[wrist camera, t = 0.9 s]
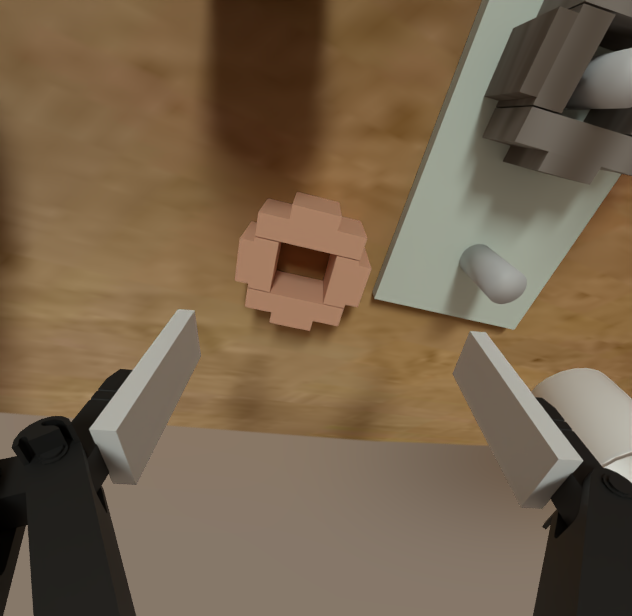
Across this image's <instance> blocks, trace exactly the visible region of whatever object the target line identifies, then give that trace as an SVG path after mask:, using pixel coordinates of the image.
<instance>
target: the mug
mask: <svg viewBox="0 0 632 616" xmlns="http://www.w3.org/2000/svg"><path fill="white" fill-rule="evenodd" d="M531 393H532V394H533V395H534V397H541V398H543V399H545V400H546V401H547V402H548V403H550V404H551V405H552V406H553V407H555V408H556V410H557V411H558V412H559V413H560V415H561V416H562V417H563V418H564V421H565V422H567V423H568V425H569V426H570V427H571V428H572V431H574V432H575V433H576V435H577V436H578V437H579V438H580V439H581V441H582V442H583V443H584V444H585V446H586V447H587V448H588V449H589V451H590V452H591V453H592V454H593V456H594V457H595V458H596V459H597V461H598V462H599V463H600V464H601V466H602V467H603V468H607V469H610V470H612V471H615V472H617V473H619V474H620V475H622V476H623V477H625V478H626V479H628V480H629V481H630V482H631V483H632V399H631V398H630V397H629V396H628V395H627V394H626V393H625V392H624V391H623V390H622V389H620V388H619V387H618V386H617V385H616V384H615V383H614V382H613V381H612V380H611V379H610V378H608V377H607V376H606V375H605V374H603V373H602V372H600V371H598V370H594V369H589V368H576V369H570V370H566V371H562V372H559V373H557V374H555V375H552V376H550V377H548V378H546V379H545V380H544V381H542V382H541V383H539V384H538V385H537V386H536V387H535V388H534V389H533V390H532V392H531Z"/></svg>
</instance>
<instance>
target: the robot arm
mask: <svg viewBox="0 0 632 616" xmlns="http://www.w3.org/2000/svg"><path fill="white" fill-rule="evenodd" d="M200 357H201V353H200V346H199V339H198V331H197V324H196V317H195V310H182V309H178V310H177V311H176V313H175V314H174V315H173V317H172V318H171V319H170V321H169V322H168V323H167V325H166V326H165V327H164V329H163V330H162V332H161V333H160V334H159V336H158V337H157V338H156V340H155V341H154V342H153V344H152V345H151V346H150V348H149V349H148V350H147V352H146V353H145V354H144V356H143V357H142V358H141V360H140V361H139V363H138V364H137V365H136V367H135V368H134V369H133V370H126V369H120V370H118V371H117V372H115V373H114V374H113V375H111V376H110V377H108V378H107V379H106V380H105V381H104V383H103V384H102V385H101V386H100V388H99V389H98V391H96V393H95V394H94V395H93V396H92V397H91V400H89V401H88V402H87V404H86V405H85V406H84V407H83V408H82V410H81V411H80V412H79V413H78V415H77V416H76V417H75V418H74V419H73V421H72V422H70V420H69V419H68V418H65V417H63V416H52V417H48V418H44V419H41V420H39V421H37V422H35V423H33V424H31V425H29V426H28V427H26V428H25V429H24V430H22V431H21V432H20V433H19V434H18V436H17V437H16V438H15V439H14V442H13V445H12V449H13V450H14V452H15V453H16V455H17V456H16V457H11V458H6V459H1V460H0V616H3V613H4V610H5V606H6V602H7V598H8V594H9V590H10V586H11V582H12V578H13V574H14V570H15V566H16V562H17V558H18V555H19V550H20V547H21V543H22V539H23V535H24V531H25V527H26V525H28V536H29V551H30V566H31V583H32V596H33V597H32V598H33V613H34V616H136V614H135V610H134V606H133V602H132V598H131V594H130V591H129V587H128V583H127V579H126V575H125V571H124V567H123V563H122V559H121V555H120V552H119V548H118V544H117V540H116V536H115V532H114V528H113V524H112V521H111V517H110V513H109V509H108V505H107V501H106V497H105V494H104V490H103V488H102V484H103V482H104V480H105V479H106V477H107V475H108V474H109V475H110V478H111V480H112V482H113V483H114V484H115V483H116V484H132V485H136V484H137V482H138V480H139V478H140V476H141V474H142V472H143V470H144V468H145V466H146V464H147V462H148V461H149V459H150V456H151V454H152V453H153V450H154V448H155V446H156V445H157V442H158V440H159V439H160V437H161V435H162V433H163V431H164V429H165V427H166V425H167V423H168V421H169V419H170V417H171V415H172V413H173V411H174V409H175V407H176V405H177V403H178V401H179V399H180V397H181V395H182V393H183V391H184V389H185V387H186V385H187V383H188V381H189V379H190V377H191V375H192V373H193V371H194V369H195V367H196V365H197V363H198V361H199V359H200ZM453 376H454V378H455V380H456V382H457V384H458V386H459V387H460V389H461V391H462V393H463V395H464V397H465V399H466V401H467V403H468V405H469V407H470V409H471V411H472V413H473V415H474V417H475V419H476V421H477V423H478V425H479V427H480V429H481V431H482V433H483V435H484V437H485V438H486V440H487V442H488V444H489V446H490V448H491V450H492V452H493V454H494V456H495V458H496V460H497V462H498V464H499V466H500V468H501V470H502V472H503V474H504V476H505V478H506V480H507V482H508V484H509V485H510V487H511V489H512V491H513V493H514V495H515V497H516V499H517V501H518V503H519V505H520V507H522V508H539V509H540V508H541V509H542V508H543V507H544V506H545V505H546V504H547V503H548V501H549V500H550V499H551V500H552V502H553V504H554V505H555V507H556V508H557V510H556V511H555V512H554V513H553V514H552V515H551V516H550V517H549V518H548V520H547V521H546V522H545V523H544V525H543V528H545V529H547V527H548V526H549V525H551V526H550V531H549V536H548V541H547V547H546V551H545V557H544V562H543V567H542V573H541V577H540V582H539V588H538V593H537V598H536V603H535V608H534V613H533V616H632V483H631V482H630V481H629V480H628V479H626V478H625V477H623V476H622V475H620V474H619V473H617V472H615V471H612V470H610V469H607V468H603V467H602V466H601V464H600V463H599V462H598V461H597V459H596V458H595V457H594V456H593V454H592V453H591V452H590V451H589V449H588V448H587V447H586V446H585V444H584V443H583V442H582V441H581V439H580V438H579V437H578V436H577V435H576V433H575V432H574V431H572V428H571V427H570V426H569V425H568V423H567V422H565V421H564V418H563V417H562V416H561V415H560V413H559V412H558V411H557V410H556V408H555V407H553V406H552V405H551V404H550V403H548V402H547V401H546V400H545V399H543V398H541V397H534V395H533V394H532V393H531V391H530V390H529V389H528V387H527V386H526V385H525V383H524V382H523V381H522V379H521V378H520V377H519V376H518V374H517V373H516V372H515V370H514V369H513V368H512V366H511V365H510V364H509V362H508V361H507V360H506V358H505V357H504V356H503V354H502V353H501V352H500V351H499V349H498V348H497V347H496V345H495V344H494V343H493V341H492V340H491V339H490V337H489V336H488V335H487V333H486V332H474V331H470V332H469V335H468V337H467V340H466V342H465V345H464V347H463V350H462V352H461V354H460V357H459V359H458V362H457V364H456V367H455V369H454V372H453Z"/></svg>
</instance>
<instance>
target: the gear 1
mask: <svg viewBox="0 0 632 616" xmlns="http://www.w3.org/2000/svg"><path fill="white" fill-rule="evenodd" d="M366 241H367V236H366V233H365V231H364V228H363V225H362V222H361V221H358V220H354V219H350V218H346V217H342V214H341V209H340V204H339V202H336V201H332V200H328V199H324V198H320V197H316V196H313V195H309V194H305V193H301V192H297V193H296V196H295V199H294V201H293V204H290V203H286V202H282V201H278V200H274V199H270V198H268V199H267V200H266V202H265V203H264V205H263V206H262V207H261V209H260V210H259V212H258V219H257V222H253V221H251V223H250V224H249V226H248V227H247V228H246V230H245V231H244V233H243V234H242V236H241V237H240V241H239V249H238V258H237V266H236V275H235V281H239V282H244V283H248V289H247V296H246V303H245V307H248V308H253V309H258V310H262V311H267V312H271V317H270V322H269V323H273V324H278V325H283V326H288V327H293V328H298V329H303V330H307V331H310V329H311V325H312V322H313V321H315V322H320V323H324V324H329V325H334V326H338V325H339V322H340V319H341V316H342V313H343V310H344V307H345V305H349V306H354V307H358V305H359V302H360V299H361V297H362V294H363V291H364V288H365V286H366V283H367V280H368V277H369V274H370V272H371V266H370V263H369V259H368V256H367V253H366V250H365V248H364V247H365V244H366ZM282 242H283V243H288V244H292V245H296V246H300V247H305V248H309V249H313V250H317V251H322V252H326V253H330V257H329V260H328V264H327V268H326V271H325V275H324V278H323V281H322V280H317V279H313V278H309V277H304V276H300V275H295V274H291V273H286V272H282V271H277V264H278V259H279V254H280V249H281V243H282Z"/></svg>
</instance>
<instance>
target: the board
mask: <svg viewBox="0 0 632 616" xmlns="http://www.w3.org/2000/svg"><path fill="white" fill-rule="evenodd" d="M543 1H544V0H482V2H481V5H480V7H479V10H478V12H477V15H476V18H475V20H474V23H473V26H472V28H471V31H470V34H469V36H468V39H467V42H466V44H465V47H464V50H463V52H462V55H461V58H460V60H459V63H458V66H457V68H456V71H455V74H454V76H453V79H452V82H451V84H450V87H449V90H448V92H447V95H446V98H445V100H444V103H443V105H442V108H441V111H440V113H439V116H438V119H437V121H436V124H435V127H434V129H433V132H432V135H431V137H430V140H429V143H428V145H427V148H426V151H425V153H424V156H423V159H422V161H421V164H420V167H419V169H418V172H417V175H416V177H415V180H414V183H413V185H412V188H411V190H410V193H409V196H408V198H407V201H406V204H405V206H404V209H403V212H402V214H401V217H400V220H399V222H398V225H397V228H396V230H395V233H394V236H393V238H392V241H391V244H390V246H389V249H388V252H387V254H386V257H385V260H384V262H383V265H382V268H381V270H380V273H379V276H378V278H377V281H376V283H375V286H374V289H373V291H372V292H373V296H374V299H378V300H383V301H387V302H392V303H396V304H401V305H405V306H410V307H414V308H419V309H423V310H428V311H432V312H437V313H441V314H446V315H450V316H455V317H459V318H464V319H468V320H473V321H477V322H482V323H486V324H491V325H495V326H500V327H504V328H509V329H513V330H514V329H515V328H516V326H517V325H518V323H519V322H520V320H521V319H522V318H523V316H524V315H525V313H526V312H527V310H528V309H529V307H530V306H531V305H532V303H533V302H534V300H535V299H536V297H537V296H538V294H539V293H540V291H541V290H542V289H543V287H544V286H545V284H546V283H547V281H548V280H549V278H550V277H551V276H552V274H553V273H554V271H555V270H556V268H557V267H558V265H559V264H560V262H561V261H562V260H563V258H564V257H565V255H566V254H567V252H568V251H569V249H570V248H571V247H572V245H573V244H574V242H575V241H576V239H577V238H578V236H579V235H580V233H581V232H582V231H583V229H584V228H585V226H586V225H587V223H588V222H589V220H590V219H591V218H592V216H593V215H594V213H595V212H596V210H597V209H598V207H599V206H600V204H601V203H602V202H603V200H604V199H605V197H606V196H607V194H608V193H609V191H610V190H611V188H612V187H613V186H614V184H615V183H616V181H617V180H618V178H619V177H620V175H621V174H620V173H615V172H609V171H604V170H599V171H598V173H597V174H596V176H595V177H594V179H593V180H592V182H591V184H590V185H588V184H584V183H580V182H576V181H572V180H568V179H564V178H560V177H557V176H553V175H549V174H545V173H541V172H538V171H534V170H531V169H527V168H524V167H520V166H516V165H513V164H509V163H506V162H503V160H504V158H505V156H506V154H507V152H508V150H509V148H510V145H507V144H503V143H500V142H496V141H493V140H489V139H486V138H482V136H483V134H484V132H485V130H486V127H487V125H488V123H489V121H490V119H491V116H492V114H493V112H494V110H495V108H498V107H496V105H497V103H498V101H497V100H494V99H491V98H488V97H484V95H485V93H486V90H487V88H488V86H489V83H490V81H491V79H492V76H493V74H494V72H495V69H496V67H497V65H498V62H499V60H500V58H501V55H502V53H503V51H504V48H505V46H506V44H507V41H508V39H509V37H510V34H511V32H512V30H513V28H515V27H517V26H519V25H521V24H523V23H525V22H527V21H530V20H532V19H534V18H536V17H537V14H538V12H539V10H540V8H541V5H542V3H543ZM631 107H632V48H629V49H624V50H620V51H612V50H609V49H606V48H603V47H600V46H598V48H597V50H596V52H595V54H594V55H593V57H592V59H591V61H590V63H589V65H588V66H587V68H586V70H585V72H584V74H583V75H582V77H581V79H580V81H579V83H578V85H577V86H576V88H575V90H574V92H573V94H572V96H571V97H570V99H569V101H568V103H567V105H566V107H565V108H564V110H563V112H562V113H556V114H558V115H562V116H565V117H568V118H572V119H575V120H578V121H581V122H583V121H584V119H585V118H586V116H587V114H588V112H589V111H590V109H617V108H631Z"/></svg>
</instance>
